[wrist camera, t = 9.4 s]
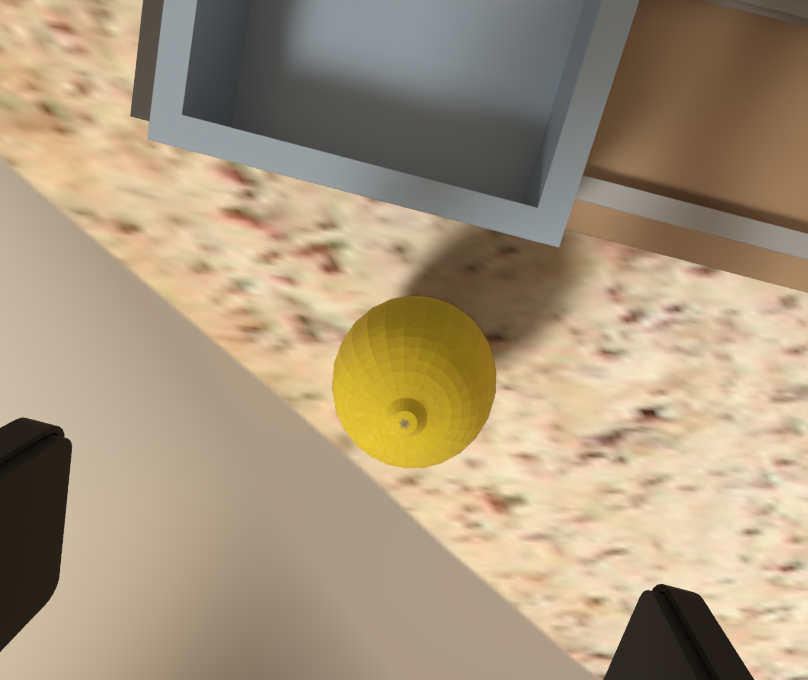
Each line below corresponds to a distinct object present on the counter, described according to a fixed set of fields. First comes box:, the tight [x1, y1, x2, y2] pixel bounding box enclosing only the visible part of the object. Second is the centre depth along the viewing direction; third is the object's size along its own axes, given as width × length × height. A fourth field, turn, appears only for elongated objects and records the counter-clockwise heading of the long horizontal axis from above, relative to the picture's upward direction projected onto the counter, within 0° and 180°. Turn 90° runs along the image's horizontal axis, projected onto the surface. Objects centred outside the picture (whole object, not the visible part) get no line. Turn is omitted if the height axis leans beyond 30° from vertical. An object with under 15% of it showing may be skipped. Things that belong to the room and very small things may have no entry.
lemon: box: [332, 296, 496, 468], centre depth 19 cm, size 6×6×8 cm
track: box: [130, 0, 808, 293], centre depth 18 cm, size 26×10×4 cm, turn 76°
